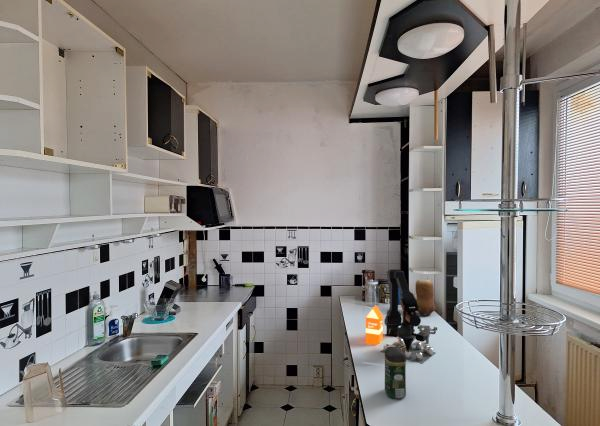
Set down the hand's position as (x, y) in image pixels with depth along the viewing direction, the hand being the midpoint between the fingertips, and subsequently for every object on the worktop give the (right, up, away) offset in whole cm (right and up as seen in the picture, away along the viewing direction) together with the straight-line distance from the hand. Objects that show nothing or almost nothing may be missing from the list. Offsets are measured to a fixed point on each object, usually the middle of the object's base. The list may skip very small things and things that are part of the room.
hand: (408, 350), depth 198 cm
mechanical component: (+14, -2, +13) cm, 19 cm away
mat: (0, -2, 0) cm, 2 cm away
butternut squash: (+31, 0, +67) cm, 74 cm away
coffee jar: (-17, -3, -42) cm, 45 cm away
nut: (-3, -1, +2) cm, 3 cm away
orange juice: (-14, -2, +16) cm, 22 cm away
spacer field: (0, -2, 0) cm, 2 cm away
